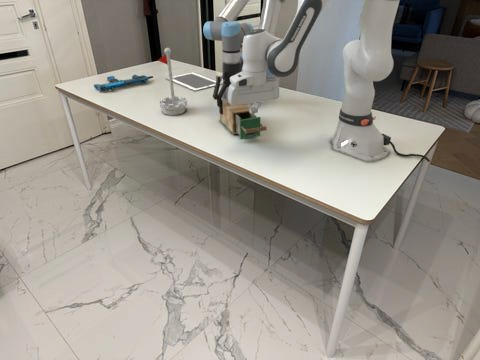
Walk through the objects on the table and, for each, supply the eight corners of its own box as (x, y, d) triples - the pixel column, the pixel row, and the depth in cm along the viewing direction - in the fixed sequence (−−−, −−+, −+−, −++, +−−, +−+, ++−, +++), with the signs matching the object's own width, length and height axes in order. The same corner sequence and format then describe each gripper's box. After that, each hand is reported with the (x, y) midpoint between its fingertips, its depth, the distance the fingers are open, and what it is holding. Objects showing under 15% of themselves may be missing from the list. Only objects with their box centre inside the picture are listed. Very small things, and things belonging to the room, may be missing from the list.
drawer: (266, 141, 137) (266, 122, 133) (246, 144, 135) (245, 126, 130) (245, 122, 155) (245, 105, 151) (227, 125, 152) (226, 108, 148)
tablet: (166, 78, 215) (166, 78, 215) (192, 72, 226) (192, 72, 226) (195, 91, 195) (194, 90, 195) (222, 83, 206) (222, 83, 206)
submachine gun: (139, 69, 223) (157, 75, 206) (140, 75, 225) (158, 81, 208) (86, 79, 204) (101, 87, 188) (88, 85, 206) (103, 94, 190)
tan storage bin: (254, 130, 149) (254, 109, 144) (232, 134, 146) (232, 112, 140) (240, 117, 162) (239, 97, 157) (220, 120, 159) (219, 100, 154)
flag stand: (184, 104, 177) (178, 43, 160) (190, 113, 167) (184, 49, 150) (159, 107, 173) (150, 46, 156) (163, 117, 163) (155, 52, 146)
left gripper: (252, 57, 150) (251, 105, 162) (203, 62, 143) (206, 112, 155) (259, 61, 144) (258, 111, 156) (208, 66, 137) (211, 118, 149)
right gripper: (275, 71, 130) (274, 106, 138) (225, 78, 124) (226, 113, 132) (283, 76, 125) (281, 111, 133) (231, 82, 119) (232, 119, 127)
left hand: (232, 111), depth 156 cm, fingers closed on tan storage bin, 10 cm apart
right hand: (253, 112), depth 132 cm, fingers closed
